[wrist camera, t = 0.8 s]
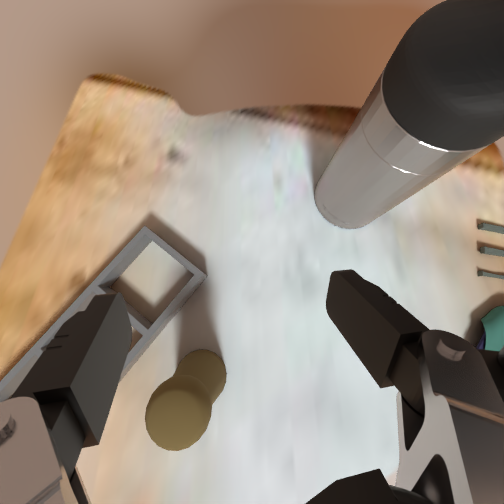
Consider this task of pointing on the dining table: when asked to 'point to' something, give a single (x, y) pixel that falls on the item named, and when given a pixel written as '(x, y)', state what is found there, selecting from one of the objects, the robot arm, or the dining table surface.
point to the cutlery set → (500, 318)
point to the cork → (185, 401)
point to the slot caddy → (141, 324)
